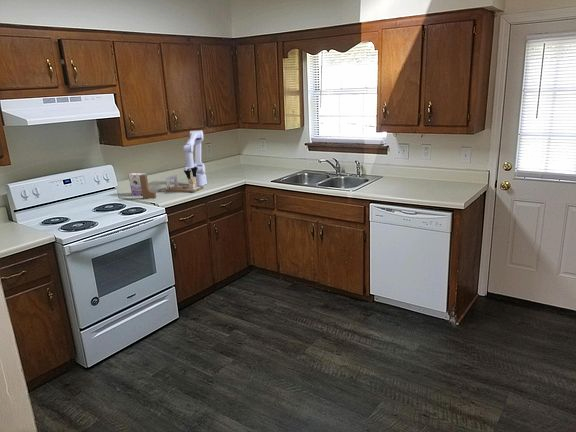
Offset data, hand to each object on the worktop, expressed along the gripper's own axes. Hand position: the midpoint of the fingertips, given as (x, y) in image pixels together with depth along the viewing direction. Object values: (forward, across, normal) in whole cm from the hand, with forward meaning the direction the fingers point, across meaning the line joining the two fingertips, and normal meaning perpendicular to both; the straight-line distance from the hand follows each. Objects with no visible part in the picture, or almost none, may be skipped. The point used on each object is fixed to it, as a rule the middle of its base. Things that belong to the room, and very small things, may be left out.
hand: (191, 177), depth 352 cm
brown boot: (+10, +27, -21) cm, 36 cm away
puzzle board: (+10, 0, -8) cm, 13 cm away
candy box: (+10, +18, -37) cm, 42 cm away
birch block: (+8, 0, 0) cm, 8 cm away
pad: (+8, 0, 0) cm, 9 cm away
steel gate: (+8, 0, -19) cm, 21 cm away
